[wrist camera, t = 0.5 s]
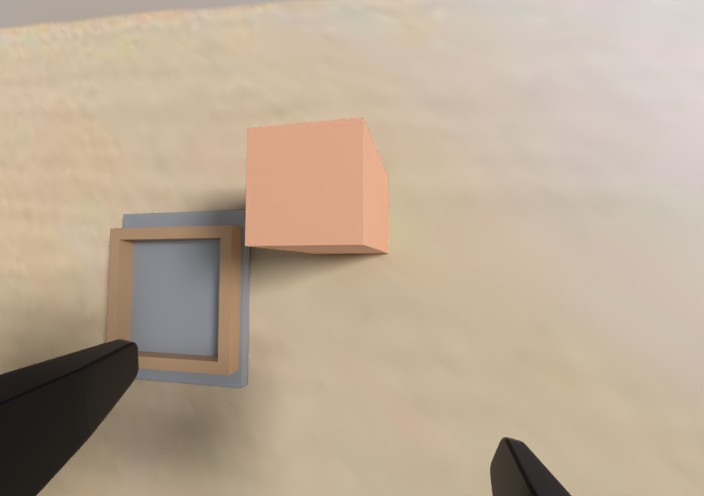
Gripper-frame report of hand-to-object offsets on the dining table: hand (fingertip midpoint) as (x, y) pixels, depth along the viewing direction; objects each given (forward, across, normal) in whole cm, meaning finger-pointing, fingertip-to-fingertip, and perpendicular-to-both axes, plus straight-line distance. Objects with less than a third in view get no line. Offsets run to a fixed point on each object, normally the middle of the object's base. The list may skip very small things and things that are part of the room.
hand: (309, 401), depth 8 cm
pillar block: (+15, +2, -1) cm, 16 cm away
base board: (+14, +12, +7) cm, 20 cm away
